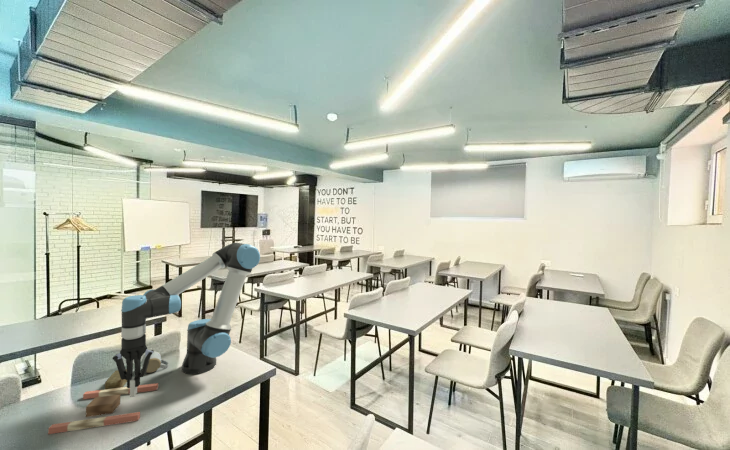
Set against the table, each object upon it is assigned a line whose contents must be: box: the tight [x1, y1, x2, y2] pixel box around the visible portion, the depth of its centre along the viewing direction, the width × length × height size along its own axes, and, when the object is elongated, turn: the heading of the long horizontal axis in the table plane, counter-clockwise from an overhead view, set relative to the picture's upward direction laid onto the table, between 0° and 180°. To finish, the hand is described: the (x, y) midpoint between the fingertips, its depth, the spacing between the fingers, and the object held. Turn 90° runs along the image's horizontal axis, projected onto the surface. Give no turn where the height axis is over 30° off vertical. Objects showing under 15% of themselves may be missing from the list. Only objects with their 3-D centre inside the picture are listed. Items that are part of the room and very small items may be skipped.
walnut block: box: [85, 394, 122, 418], centre depth 110 cm, size 8×6×4 cm
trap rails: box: [47, 382, 159, 435], centre depth 112 cm, size 25×22×2 cm
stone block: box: [104, 368, 127, 389], centre depth 127 cm, size 6×12×5 cm, turn 22°
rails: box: [67, 386, 129, 432], centre depth 111 cm, size 10×22×2 cm, turn 20°
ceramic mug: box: [141, 350, 169, 374], centre depth 142 cm, size 11×8×8 cm
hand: (133, 394), depth 115 cm, fingers closed
